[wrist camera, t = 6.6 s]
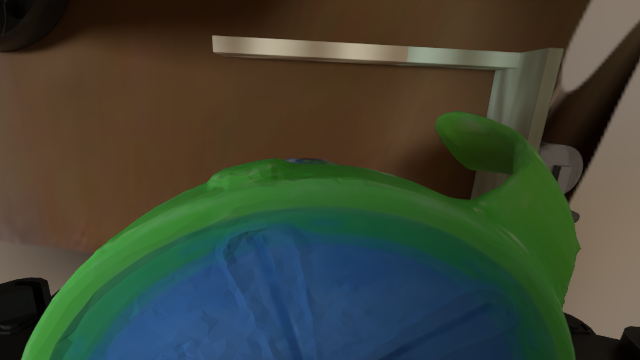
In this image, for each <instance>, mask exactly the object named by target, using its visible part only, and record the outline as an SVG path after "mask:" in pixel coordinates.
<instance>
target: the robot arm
mask: <svg viewBox="0 0 640 360" xmlns="http://www.w3.org/2000/svg"><path fill="white" fill-rule="evenodd" d="M66 3H67V0H0V51H10V50H15V49H19V48H23V47H26V46H28V45H30V44H32V43H34V42H36V41H38V40H39V39H41V38H42V37H43V36H44V35H46V34H47V33H48V32H49V31H50V30H51V29H52V28H53V27H54V25H55V24H56V23H57V21H58V20H59V18H60V16H61V15H62V13H63V10H64V8H65V6H66ZM59 291H60V290H59ZM59 291H57V292H56V293H55V294H54V295H52V296H51V295H50V290H49V285H48V281H47V280H44V279H42V278H23V279H16V280H13V281H9V282H6V283H2V284H0V360H21V359H22V356H23V353H24V350H25V347H26V344H27V343H28V341H29V339H30V337H31V335H32V333H33V331H34V329H35V327H36V326H37V324H38V322H39V320H40V319H41V317H42V315H43V314H44V312H45V310H46V309H47V307H48V306H49V304H50V302H51V301H52V299H53V298H54V297H55V295H56V294H57V293H58V292H59ZM563 313H564V312H563ZM564 316H565V318H566V321H567V324H568V327H569V330H570V334H571V339H572V343H573V346H574V351H575V359H576V360H640V327H633V326H630V327H627V328H625V329H624V332H623V335H622V337H621V339H620V340H618V339H613V338H609V337H605V336H600V335H596V334H595V333H594V331H593V330H592V329H591V328H590V327H589V326H587V325H586V324H585V323H583V322H582V321H581V320H579V319H577V318H575V317H573V316H572V315H569V314H567V313H564Z"/></svg>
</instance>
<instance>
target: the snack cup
mask: <svg viewBox="0 0 640 360" xmlns="http://www.w3.org/2000/svg"><path fill="white" fill-rule="evenodd" d="M435 129H436V131H437V132H438V134H439V136H440V138H441V140H442V142H443V143H444V144H445V146H446V147H447V148H448V150H449V151H450V152H451V154H452V155H453V156H454V157H455V158H456V159H457V160H458V161H459V162H460V163H461V164H462V165H463V166H465V167H466V168H468V169H470V170H483V171H486V172H490V173H500V174H509V175H511V176H510V177H509V178H508V179H506V180H505V181H504V183H503V184H502V185H501V186H499V187H498V188H496V189H493V190H491V191H488V192H486V193H483V194H481V195H480V196H478V197H477V198H474V199H471V200H465V199H457V198H451V197H448V196H445V195H443V194H440V193H438V192H436V191H433V190H431V189H429V188H427V187H424V186H422V185H420V184H417V183H415V182H413V181H410V180H407V179H404V178H400V177H397V176H395V175H392V174H389V173H383V172H379V171H376V170H372V169H366V168H359V167H352V166H347V165H338V164H335V163H333V162H330V161H326V160H322V159H309V158H296V159H293V158H292V159H286V160H281V159H278V158H275V159H264V160H259V161H254V162H249V163H245V164H241V165H237V166H233V167H229V168H225V169H223V170H221V171H219V172H217V173H216V174H214V175H213V176H212V177H211V178H210V180H209V181H208V182H207V183H204V184H202V185H199V186H197V187H195V188H192V189H190V190H187V191H185V192H183V193H181V194H180V195H178V196H176V197H174V198H172V199H170V200H168V201H167V202H165V203H163V204H161V205H159V206H157V207H155V208H153V209H152V210H151V211H149V212H148V213H146V214H145V215H143V216H142V217H140V218H139V219H137V220H136V221H135V222H133V223H132V224H131V225H129V226H128V227H127V228H125V229H124V230H123V231H121V232H120V233H118V234H117V235H116V236H114V237H113V238H111V239H110V240H109V241H108V242H107V243H106V244H104V245H103V246H102V247H100V248H99V249H98V250H97V251H96V252H95V253H94V254H93V255H92V256H91V257H90V258H89V259H88V260H87V261H86V262H85V263H84V264H83V265H82V266H80V267H79V268H78V269H77V271H76V272H75V273H74V274H73V275H72V276H71V278H70V279H69V280H68V281H67V282H66V284H65V285H64V286H63V287H62V288H61V289H60V291H59V292H58V293H57V294H56V295H55V297H54V298H53V299H52V301H51V302H50V304H49V306H48V307H47V309H46V310H45V312H44V314H43V315H42V317H41V319H40V320H39V322H38V324H37V326H36V327H35V329H34V331H33V333H32V335H31V337H30V339H29V341H28V343H27V344H26V347H25V350H24V353H23V356H22V359H21V360H576V359H575V351H574V346H573V343H572V339H571V334H570V330H569V327H568V324H567V321H566V318H565V316H564V313H563V311H562V307H563V304H564V302H565V300H564V297H565V295H566V293H567V290H568V285H569V282H570V279H571V276H572V273H573V270H574V267H575V260H576V254H577V253H578V252H579V250H580V249H581V248H580V245H579V243H578V240H577V237H576V232H575V225H574V220H573V217H572V213H571V210H570V207H569V204H568V202H567V200H566V198H565V196H564V194H563V192H562V190H561V188H560V186H559V184H558V183H557V181H556V180H555V178H554V176H553V175H552V173H551V172H550V170H549V169H548V167H547V166H546V164H545V162H544V161H543V159H542V158H541V156H540V155H539V153H538V152H537V151H536V149H535V148H534V147H533V146H532V145H531V144H530V143H529V142H528V141H527V140H526V139H525V138H524V137H523V136H522V135H521V134H519V133H518V132H517V131H515V130H513V129H511V128H510V127H508V126H506V125H503V124H500V123H498V122H496V121H494V120H492V119H489V118H485V117H482V116H479V115H475V114H471V113H464V112H460V111H455V112H450V113H445V114H443V115H441V116H440V117H439V118H438V120H437V122H436V125H435Z"/></svg>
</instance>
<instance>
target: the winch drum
mask: <svg viewBox="0 0 640 360" xmlns="http://www.w3.org/2000/svg"><path fill="white" fill-rule="evenodd" d="M538 153H539V155H540V156H541V158H542V159H543V161H544V162H545V164H546V166H547V167H548V169H549V170H550V172H551V173H552V175H553V176H554V178H555V180H556V181H557V183H558V184H559V186H560V188H561V190H562V192H563V194H565V193H566V192H568V191H569V190H570V189H572V188H573V187H574V186H575V184H576V183H577V182H578V180H579V178H580V176H581V173H582V170H583V160H582V157H581V155H580V153H579V152H578V151H577V150H576V149H575V148H573V147H570V146H566V145H561V144H556V143H550V142H545V141H541V142H540V146H539V150H538ZM571 213H572V217H573V220H574V223H575V222H577V221H578V220H579V217H580V216H579V214H578V213H576V212H574V211H571Z"/></svg>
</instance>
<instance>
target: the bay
mask: <svg viewBox="0 0 640 360" xmlns="http://www.w3.org/2000/svg"><path fill="white" fill-rule="evenodd" d="M212 39H213V52H214V53H216V54H218V55H220V56H223V57H242V58H262V59H282V60H302V61H321V62H341V63H361V64H380V65H400V66H420V67H440V68H459V69H479V70H496V71H495V76H494V81H493V86H492V91H491V96H490V102H489V107H488V112H487V117H486V118H489V119H492V120H494V121H496V122H498V123H500V124H503V125H506V126H508V127H510V128H511V129H513V130H515V131H517V132H518V133H519V134H521V135H522V136H523V137H524V138H525V139H526V140H527V141H528V142H529V143H530V144H531V145H532V146H533V147H534V148H535V149H536V151H537V152H538V150H539V146H540V142H541V138H542V134H543V130H544V126H545V122H546V118H547V114H548V110H549V106H550V102H551V98H552V94H553V91H554V87H555V83H556V79H557V75H558V71H559V67H560V63H561V59H562V55H563V51H564V49H563V48H545V49H540V50H534V51H529V52H523V53H513V52H495V51H478V50H460V49H442V48H424V47H407V46H389V45H371V44H354V43H336V42H318V41H300V40H283V39H265V38H247V37H229V36H212ZM510 176H511V175H509V174H500V173H490V172H486V171H483V170H476V174H475V179H474V184H473V189H472V194H471V199H474V198H477V197H478V196H480V195H481V194H483V193H486V192H488V191H491V190H493V189H496V188H498V187H499V186H501V185H502V184H503V183H504V181H505V180H506V179H508V178H509V177H510Z"/></svg>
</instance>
